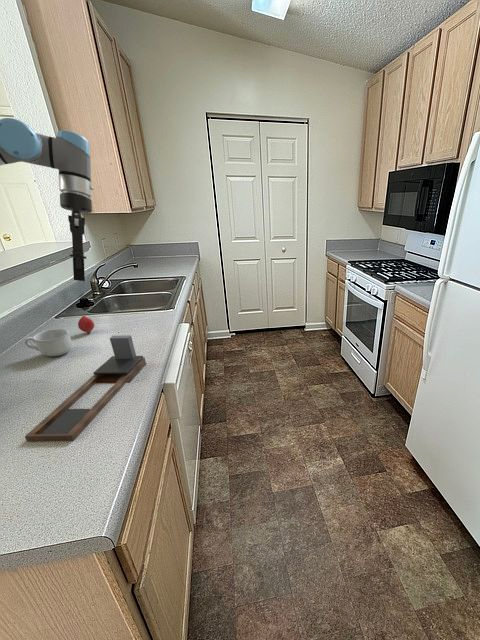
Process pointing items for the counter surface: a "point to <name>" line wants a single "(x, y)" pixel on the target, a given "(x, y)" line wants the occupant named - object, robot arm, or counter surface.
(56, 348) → the teacup
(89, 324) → the onion
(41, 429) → the long wooden tray frame
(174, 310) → the counter surface
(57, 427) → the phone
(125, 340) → the lid
